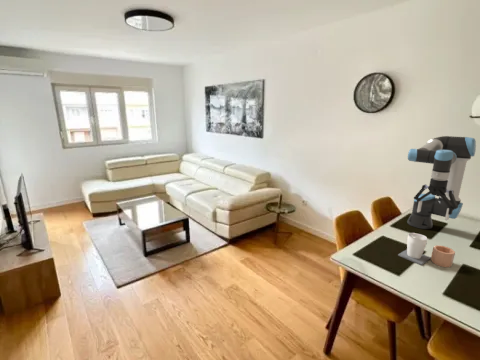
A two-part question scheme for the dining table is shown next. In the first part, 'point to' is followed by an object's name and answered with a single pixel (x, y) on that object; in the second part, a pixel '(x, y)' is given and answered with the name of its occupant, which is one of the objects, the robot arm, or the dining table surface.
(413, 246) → the cup
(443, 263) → the pot
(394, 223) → the dining table surface
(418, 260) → the mat
